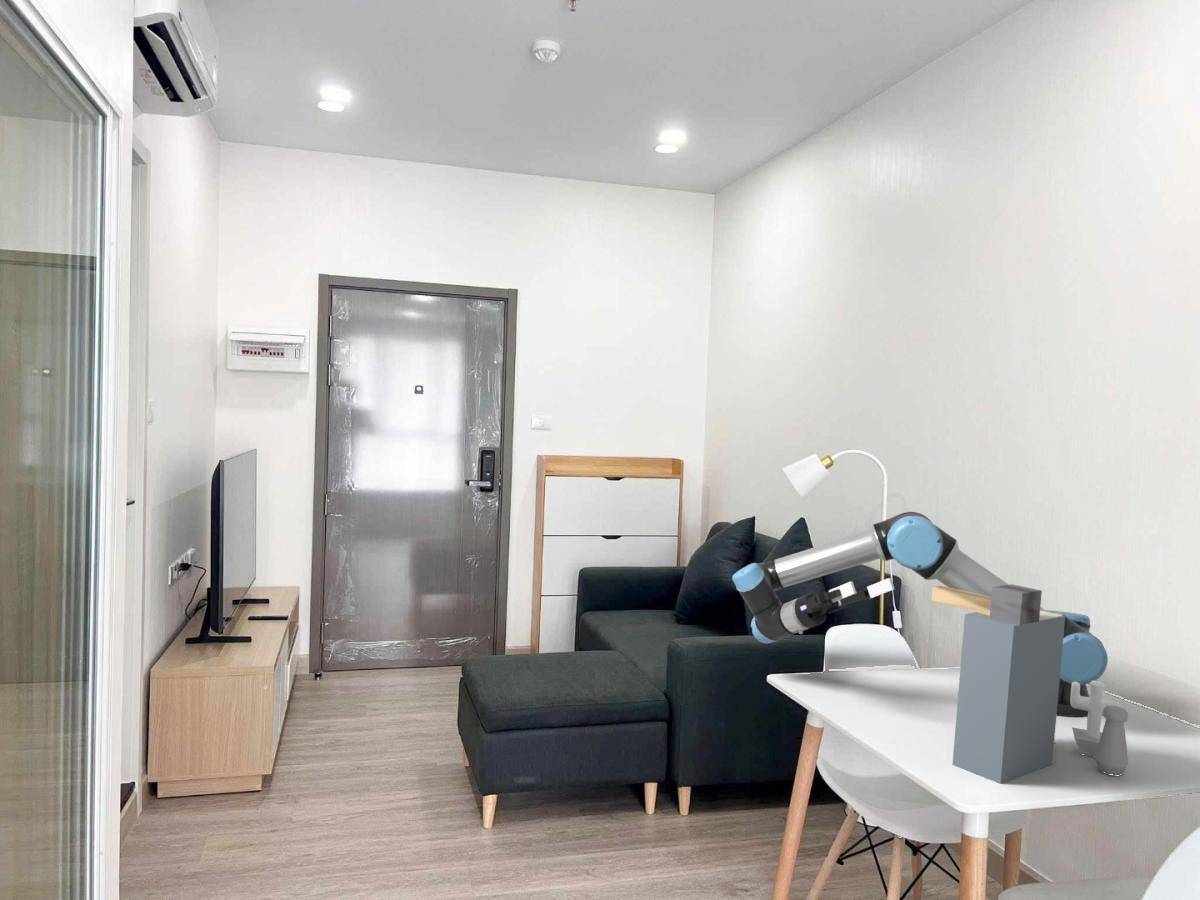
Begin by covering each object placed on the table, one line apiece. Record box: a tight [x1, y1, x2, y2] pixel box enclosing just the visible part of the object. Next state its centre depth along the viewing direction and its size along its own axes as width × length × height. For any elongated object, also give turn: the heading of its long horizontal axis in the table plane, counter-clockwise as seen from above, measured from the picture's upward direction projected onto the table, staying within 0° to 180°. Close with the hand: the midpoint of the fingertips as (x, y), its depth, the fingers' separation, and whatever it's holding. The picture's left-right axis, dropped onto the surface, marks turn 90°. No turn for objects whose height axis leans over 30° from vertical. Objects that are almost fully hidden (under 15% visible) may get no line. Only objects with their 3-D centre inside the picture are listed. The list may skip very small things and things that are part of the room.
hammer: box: [931, 584, 1043, 625], centre depth 181 cm, size 7×20×6 cm, turn 36°
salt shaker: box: [1094, 706, 1129, 776], centre depth 180 cm, size 6×6×13 cm
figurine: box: [1070, 680, 1122, 757], centre depth 190 cm, size 7×9×15 cm
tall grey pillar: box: [952, 610, 1065, 785], centre depth 180 cm, size 19×10×30 cm, turn 126°
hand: (873, 585), depth 202 cm, fingers open, 13 cm apart
